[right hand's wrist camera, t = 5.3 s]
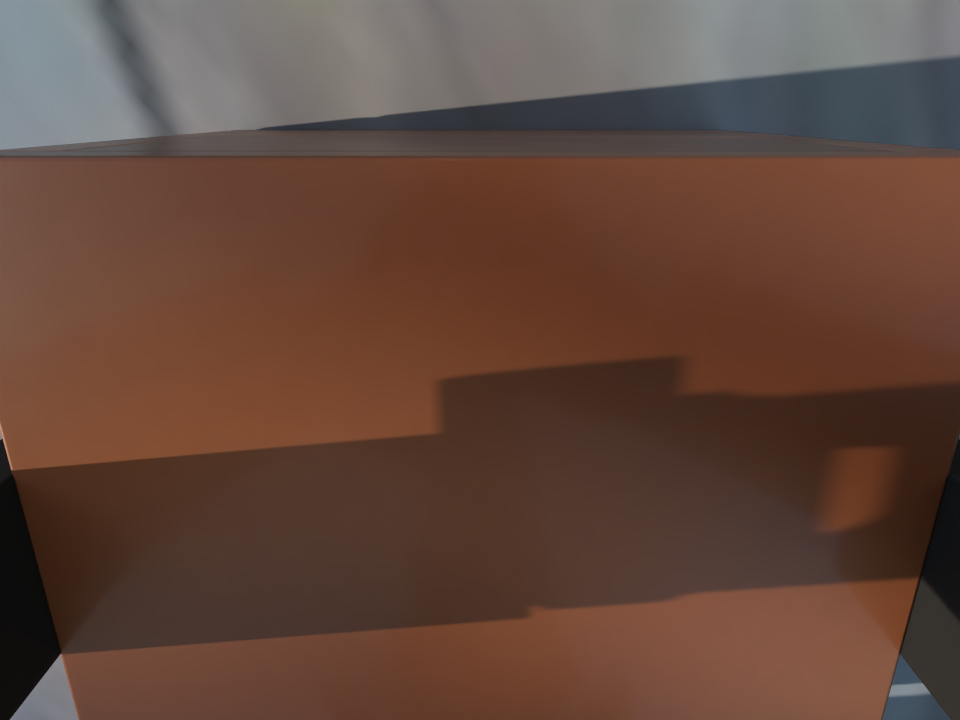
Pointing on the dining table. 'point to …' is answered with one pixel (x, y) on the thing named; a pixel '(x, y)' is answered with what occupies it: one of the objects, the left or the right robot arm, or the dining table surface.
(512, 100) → the dining table surface
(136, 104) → the dining table surface
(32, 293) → the wooden drawer cabinet
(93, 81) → the dining table surface
